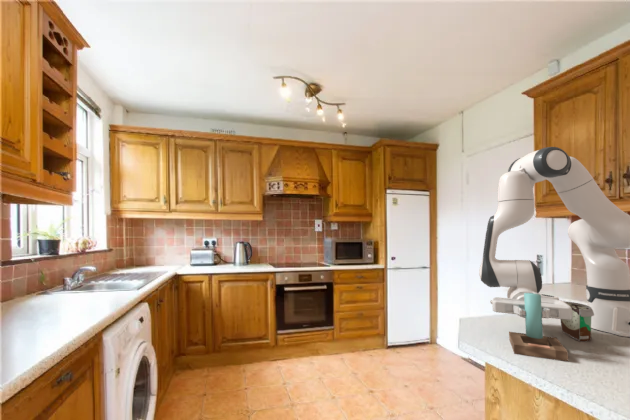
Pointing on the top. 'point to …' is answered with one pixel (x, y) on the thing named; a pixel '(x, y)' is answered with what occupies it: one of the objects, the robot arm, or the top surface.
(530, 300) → the teal peg
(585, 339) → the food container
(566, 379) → the top surface
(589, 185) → the robot arm
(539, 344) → the hole plate
